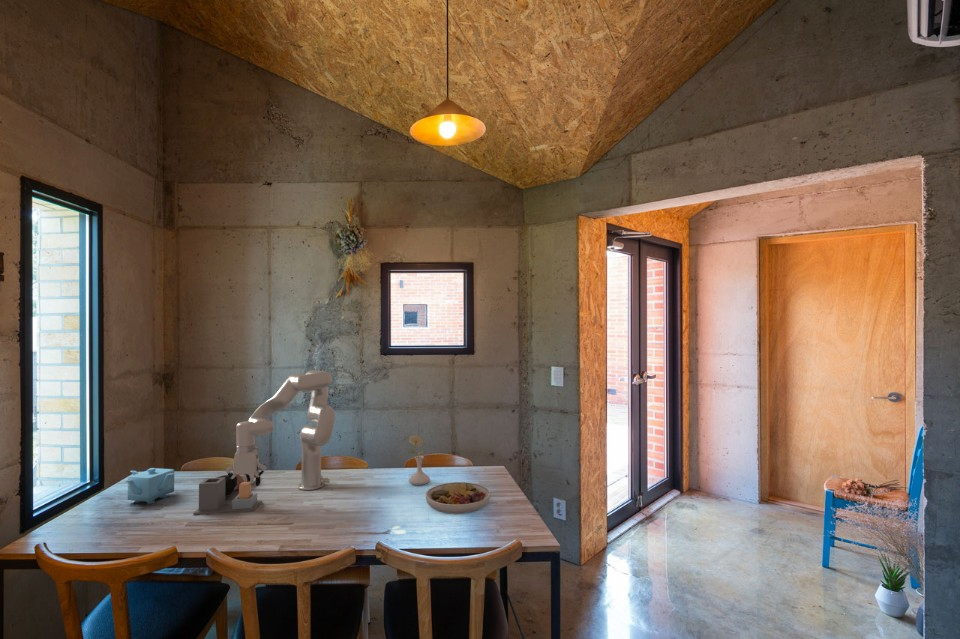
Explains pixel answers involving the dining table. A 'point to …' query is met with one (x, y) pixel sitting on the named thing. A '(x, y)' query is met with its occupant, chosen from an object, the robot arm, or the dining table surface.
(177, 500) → the dining table surface
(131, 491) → the teakettle
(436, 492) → the bowl
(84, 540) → the dining table surface
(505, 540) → the dining table surface
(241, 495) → the peg
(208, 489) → the socket stand
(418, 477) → the flower in vase
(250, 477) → the cable
